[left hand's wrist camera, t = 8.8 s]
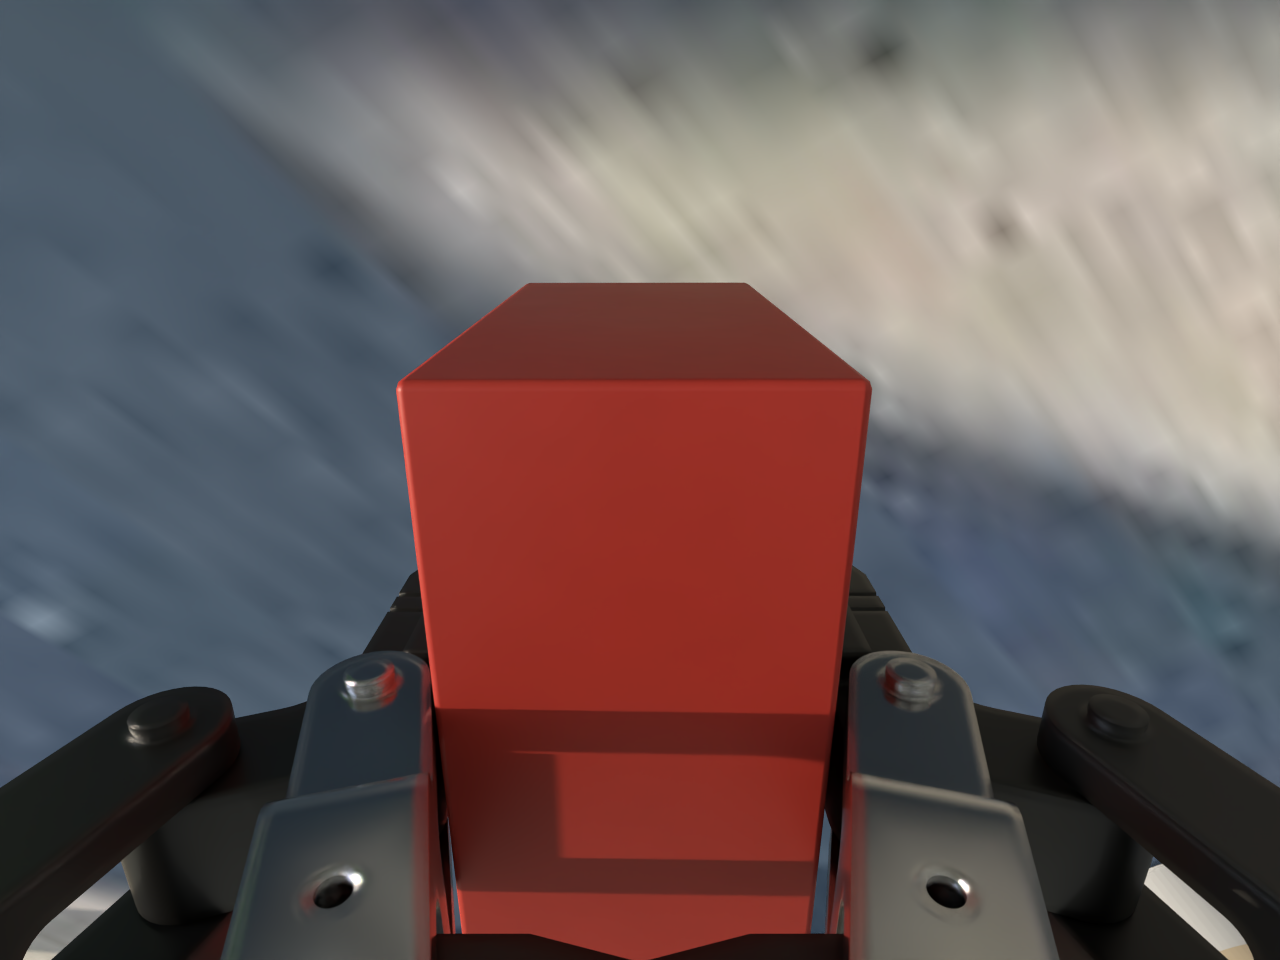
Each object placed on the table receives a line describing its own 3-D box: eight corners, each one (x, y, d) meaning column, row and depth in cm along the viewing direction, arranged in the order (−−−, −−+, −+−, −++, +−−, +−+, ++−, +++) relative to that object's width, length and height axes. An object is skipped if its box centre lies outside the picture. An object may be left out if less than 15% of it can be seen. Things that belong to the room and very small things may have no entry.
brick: (548, 701, 17) (478, 1085, 9) (525, 282, 13) (391, 381, 6) (728, 700, 17) (795, 1085, 9) (748, 282, 13) (876, 381, 6)
